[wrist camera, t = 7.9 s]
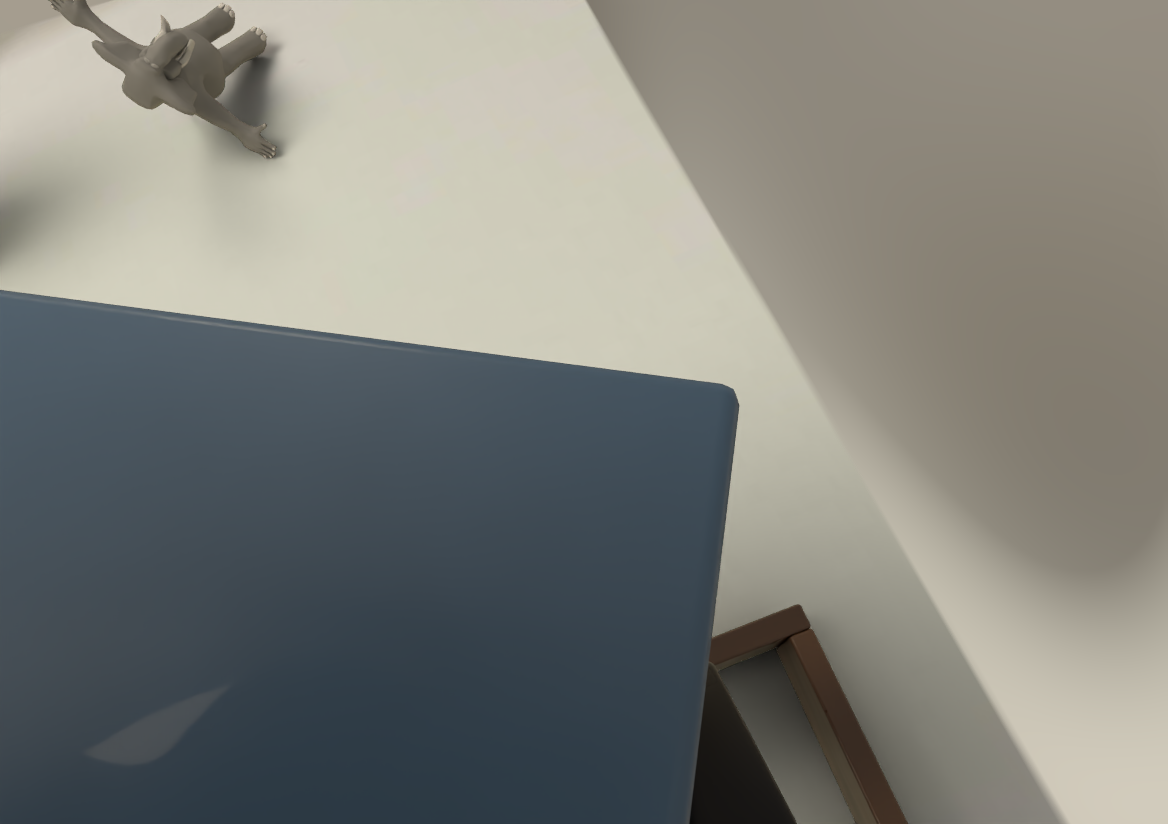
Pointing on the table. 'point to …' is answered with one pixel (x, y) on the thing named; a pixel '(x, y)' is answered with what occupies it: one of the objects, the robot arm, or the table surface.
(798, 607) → the stand
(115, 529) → the peg
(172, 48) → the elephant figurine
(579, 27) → the table surface
